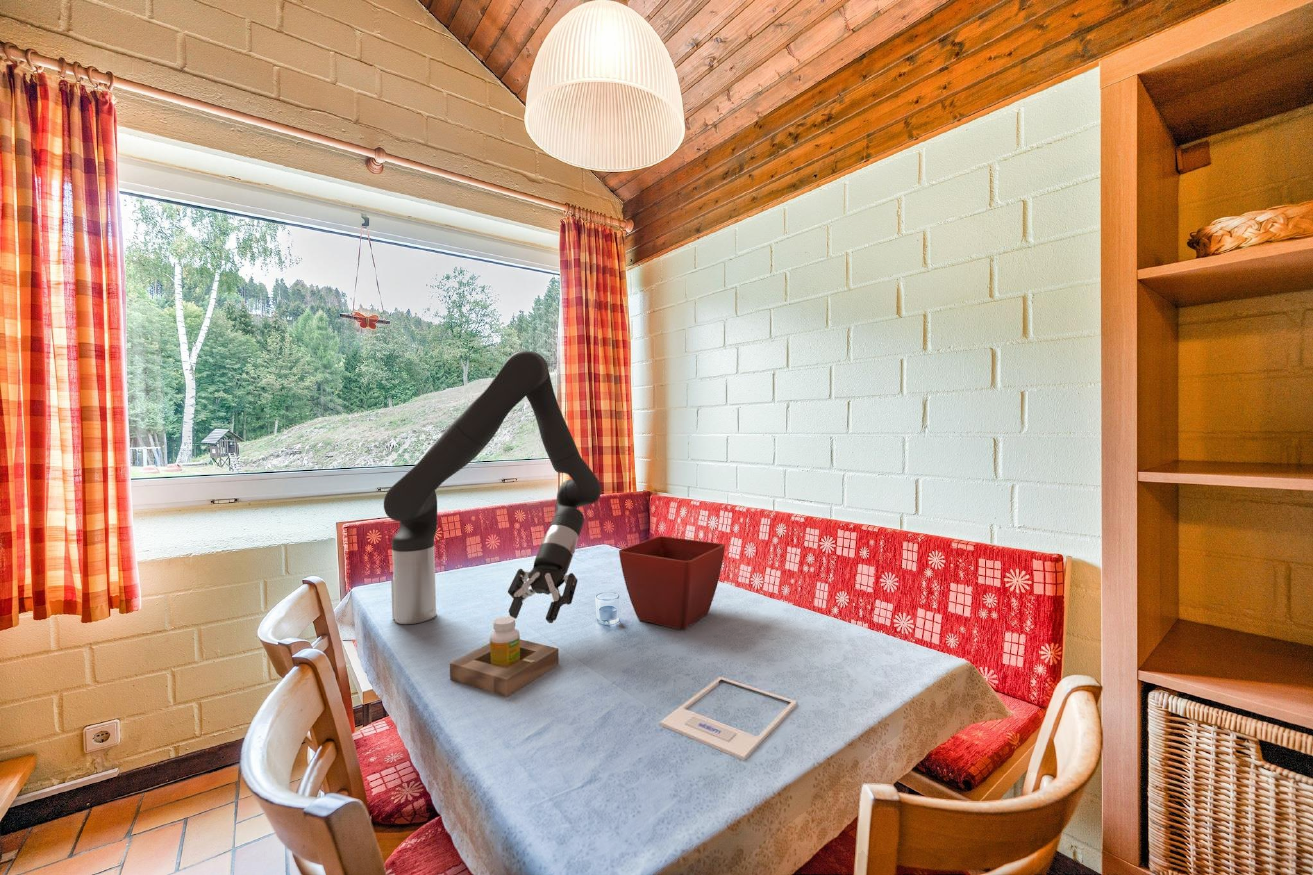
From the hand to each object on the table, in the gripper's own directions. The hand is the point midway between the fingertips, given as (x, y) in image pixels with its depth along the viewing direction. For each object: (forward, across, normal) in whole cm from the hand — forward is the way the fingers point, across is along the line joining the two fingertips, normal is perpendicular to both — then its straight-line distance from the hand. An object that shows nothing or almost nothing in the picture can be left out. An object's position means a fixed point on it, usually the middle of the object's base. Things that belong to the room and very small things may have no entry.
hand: (530, 619), depth 111 cm
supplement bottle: (+11, 0, -1) cm, 11 cm away
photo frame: (+13, +43, -3) cm, 45 cm away
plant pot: (-14, +22, +24) cm, 36 cm away
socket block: (+11, 0, -2) cm, 11 cm away
